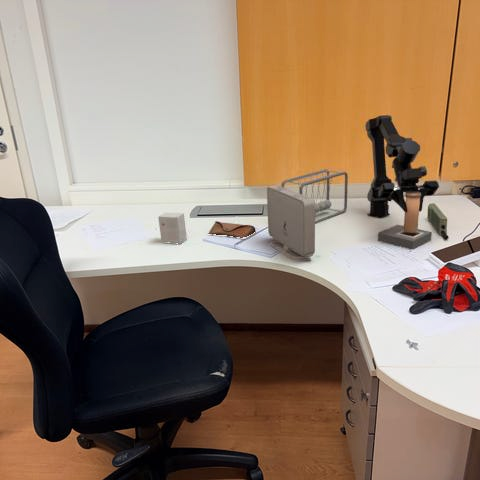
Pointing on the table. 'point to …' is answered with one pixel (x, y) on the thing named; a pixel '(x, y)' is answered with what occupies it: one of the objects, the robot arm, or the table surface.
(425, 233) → the block
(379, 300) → the table surface
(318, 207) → the newton's cradle
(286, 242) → the network device
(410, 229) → the plug
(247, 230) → the sunglasses case
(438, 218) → the handheld radio
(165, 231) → the small box
